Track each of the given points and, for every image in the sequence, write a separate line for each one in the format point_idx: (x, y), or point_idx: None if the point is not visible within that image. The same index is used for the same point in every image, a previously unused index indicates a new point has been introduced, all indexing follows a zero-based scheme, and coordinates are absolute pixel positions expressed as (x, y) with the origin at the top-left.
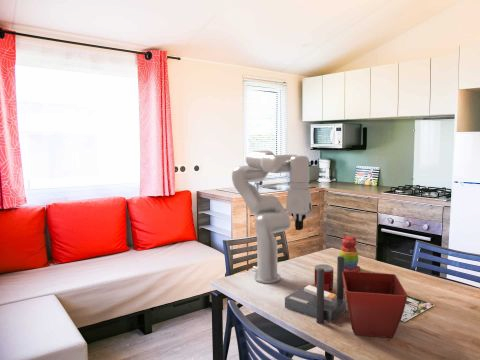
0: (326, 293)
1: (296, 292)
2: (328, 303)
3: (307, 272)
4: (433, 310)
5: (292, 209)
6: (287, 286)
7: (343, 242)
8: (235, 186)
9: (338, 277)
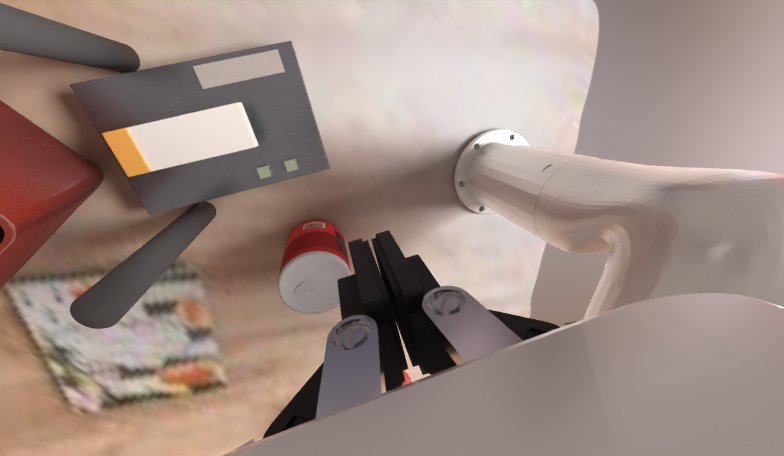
0: (157, 151)
1: (305, 119)
2: None
3: None
4: (43, 390)
5: (635, 434)
6: (411, 181)
7: None
8: None
9: (153, 241)
